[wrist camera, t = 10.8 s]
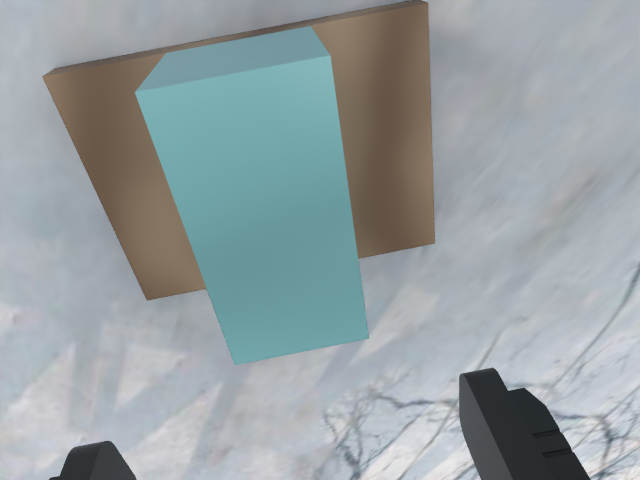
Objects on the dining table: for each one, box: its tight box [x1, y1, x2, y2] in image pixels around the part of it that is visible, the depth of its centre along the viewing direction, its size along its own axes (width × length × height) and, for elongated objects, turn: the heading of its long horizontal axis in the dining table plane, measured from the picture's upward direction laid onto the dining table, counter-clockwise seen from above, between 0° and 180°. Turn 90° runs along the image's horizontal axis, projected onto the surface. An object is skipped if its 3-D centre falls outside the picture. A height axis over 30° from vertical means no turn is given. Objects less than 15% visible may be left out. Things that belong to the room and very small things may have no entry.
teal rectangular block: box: [135, 26, 369, 365], centre depth 20 cm, size 6×12×6 cm, turn 9°
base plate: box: [43, 0, 435, 300], centre depth 22 cm, size 16×12×4 cm
